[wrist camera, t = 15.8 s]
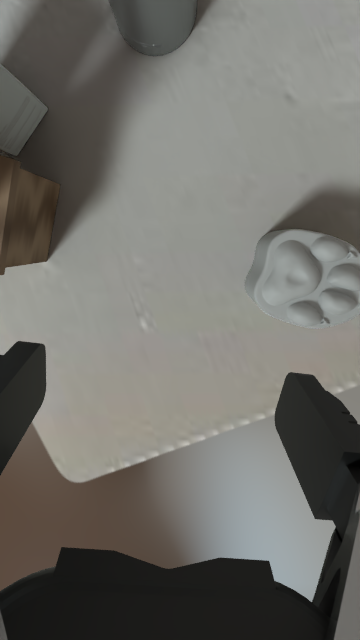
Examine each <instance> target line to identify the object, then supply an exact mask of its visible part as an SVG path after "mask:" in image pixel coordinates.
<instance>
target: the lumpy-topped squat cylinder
mask: <svg viewBox="0 0 360 640" xmlns="http://www.w3.org/2000/svg"><path fill="white" fill-rule="evenodd" d="M245 290H246V293H247V295H248V296H249V297H250V299H251V300H252V301H253V302H254V303H255V304H256V305H257V306H258V307H259V308H260V309H261V310H262V311H263V312H264V313H266V314H267V315H269V316H271V317H274V318H276V319H279V320H281V321H284V322H286V323H290V324H293V325H297V326H301V327H306V328H312V329H320V328H326V327H331V326H335V325H339V324H342V323H345V322H347V321H349V320H351V319H353V318H355V317H356V316H358V315H359V314H360V252H359V251H358V250H357V249H356V248H355V247H354V246H353V245H351V244H350V243H348V242H346V241H344V240H341V239H339V238H336V237H334V236H331V235H327V234H324V233H320V232H314V231H309V230H303V229H288V230H278V231H273V232H270V233H268V234H266V235H264V236H263V237H262V238H261V239H260V240H259V241H258V243H257V246H256V250H255V256H254V261H253V264H252V267H251V269H250V271H249V273H248V275H247V277H246V280H245Z"/></svg>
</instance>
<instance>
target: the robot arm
mask: <svg viewBox="0 0 360 640" xmlns="http://www.w3.org/2000/svg"><path fill="white" fill-rule="evenodd" d="M109 3H110V6H111V8H112V11H113V14H114V17H115V19H116V22H117V25H118V28H119V30H120V32H121V34H122V36H123V37H124V39H125V40H126V41H127V42H128V43H129V45H130V46H132V47H133V48H134V49H136V50H137V51H139V52H141V53H143V54H146V55H152V56H158V55H164V54H167V53H170V52H172V51H174V50H175V49H177V48H178V47H179V46H180V45H181V44H182V43H183V42H184V41H185V40H186V39H187V37H188V36H189V34H190V32H191V30H192V28H193V25H194V22H195V18H196V11H197V0H109ZM45 391H46V350H45V346H44V344H40V343H31V342H22V341H18V342H16V343H15V344H14V345H13V346H12V347H11V348H10V349H9V350H8V351H7V353H6V354H5V355H0V475H1V473H2V471H3V470H4V468H5V466H6V465H7V463H8V461H9V459H10V458H11V456H12V454H13V453H14V451H15V449H16V448H17V446H18V444H19V442H20V441H21V439H22V437H23V436H24V434H25V432H26V431H27V429H28V427H29V425H30V424H31V422H32V420H33V419H34V417H35V415H36V413H37V412H38V410H39V408H40V407H41V405H42V403H43V400H44V396H45ZM275 426H276V429H277V432H278V434H279V436H280V439H281V441H282V443H283V446H284V447H285V450H286V453H287V455H288V457H289V460H290V462H291V464H292V466H293V469H294V471H295V473H296V476H297V478H298V480H299V483H300V485H301V487H302V490H303V492H304V494H305V496H306V499H307V501H308V504H309V506H310V508H311V511H312V513H313V515H314V517H315V519H322V520H333V522H334V524H335V526H336V528H335V530H334V532H333V534H332V536H331V540H330V543H329V546H328V550H327V553H326V557H325V560H324V564H323V567H322V571H321V574H320V578H319V581H318V585H317V588H316V591H315V595H314V598H313V600H312V602H310V601H309V600H308V599H307V598H305V597H304V596H302V595H301V594H299V593H297V592H296V591H294V590H293V589H291V588H289V587H287V586H285V585H283V584H281V583H278V582H276V581H274V578H273V574H272V570H271V567H270V563H269V561H262V560H248V559H247V560H246V559H232V558H217V559H212V560H208V561H204V562H199V563H195V564H190V565H186V566H182V567H177V568H173V569H165V568H161V567H158V566H155V565H153V564H150V563H147V562H145V561H141V560H139V559H136V558H133V557H130V556H128V555H125V554H122V553H119V552H117V551H111V550H95V549H79V548H65V547H62V548H61V551H60V554H59V558H58V561H57V564H56V567H52V568H48V569H45V570H41V571H38V572H36V573H33V574H30V575H28V576H27V577H24V578H22V579H20V580H18V581H16V582H14V583H13V584H11V585H9V586H8V587H6V588H4V589H3V590H1V591H0V640H360V425H359V424H357V421H356V420H355V418H354V417H353V416H352V415H350V412H349V411H348V410H347V408H346V407H345V406H344V404H343V403H342V402H341V401H340V400H339V399H337V398H336V397H335V396H333V395H332V394H331V393H329V392H328V391H325V390H324V388H323V387H322V386H321V384H320V383H319V382H318V380H317V379H316V378H315V376H313V375H310V374H301V373H292V372H290V373H288V375H287V376H286V378H285V381H284V385H283V388H282V391H281V394H280V398H279V401H278V404H277V407H276V411H275Z"/></svg>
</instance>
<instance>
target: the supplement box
mask: <svg viewBox="0 0 360 640" xmlns="http://www.w3.org/2000/svg"><path fill="white" fill-rule="evenodd" d="M47 110H48V108H47V107H46V106H45V105H44V104H43V103H42V102H41V101H40V100H39V99H38V98H37V97H36V96H35V95H34V94H33V93H32V92H31V91H30V90H29V89H28V88H27V87H26V86H24V85H23V84H22V83H21V82H20V81H19V80H18V79H17V78H16V77H15V76H14V75H13V74H11V73H10V72H9V71H8V70H7V69H6V68H5V67H3V66H2V65H1V64H0V150H2V151H4V152H7V153H9V154H11V155H14V156H17V155H18V154H19V152H20V151H21V149H22V148H23V146H24V145H25V143H26V142H27V140H28V139H29V137H30V136H31V134H32V133H33V131H34V130H35V128H36V127H37V125H38V124H39V122H40V121H41V119H42V118H43V116H44V115H45V113H46V112H47Z"/></svg>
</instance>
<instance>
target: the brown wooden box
mask: <svg viewBox="0 0 360 640" xmlns="http://www.w3.org/2000/svg"><path fill="white" fill-rule="evenodd" d="M20 164H21V162H19V161H17V160H14V159H11V158H8V157H4V156H1V155H0V275H4V272H5V268H6V267H12V266H19V265H26V264H33V263H39V262H46V261H47V257H48V251H49V246H50V240H51V235H52V229H53V224H54V218H55V212H56V207H57V201H58V196H59V190H60V184H58V183H55V182H53V181H50V180H48V179H45V178H43V177H40V176H38V175H35V174H33V173H30V172H28V171H25V170H23V169H20Z"/></svg>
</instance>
